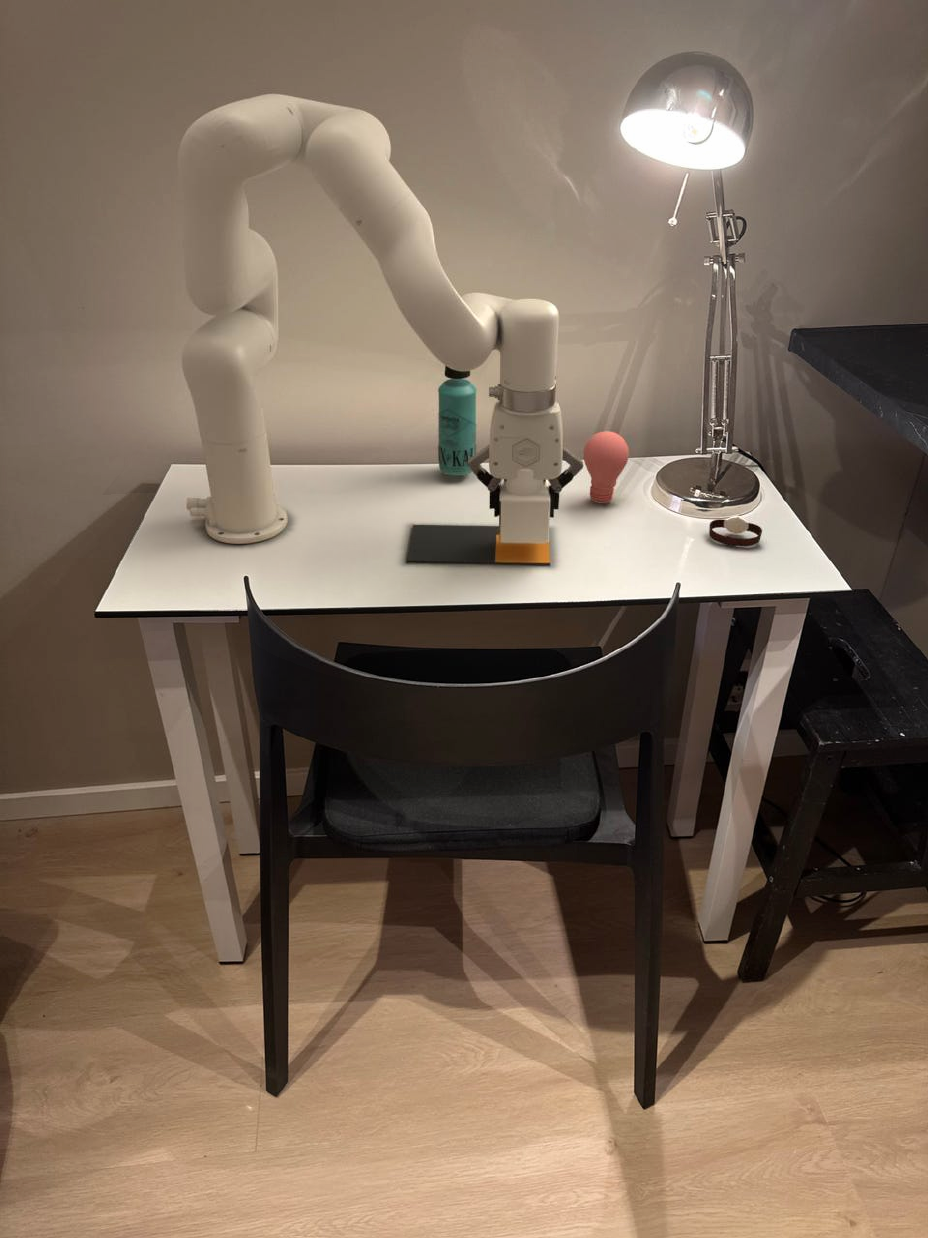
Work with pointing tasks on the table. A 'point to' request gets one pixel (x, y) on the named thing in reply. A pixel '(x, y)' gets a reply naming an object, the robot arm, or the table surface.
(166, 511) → the table surface
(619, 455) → the light bulb
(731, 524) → the watch
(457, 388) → the beverage bottle
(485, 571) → the table surface
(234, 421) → the robot arm
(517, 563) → the desk mat
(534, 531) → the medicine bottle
